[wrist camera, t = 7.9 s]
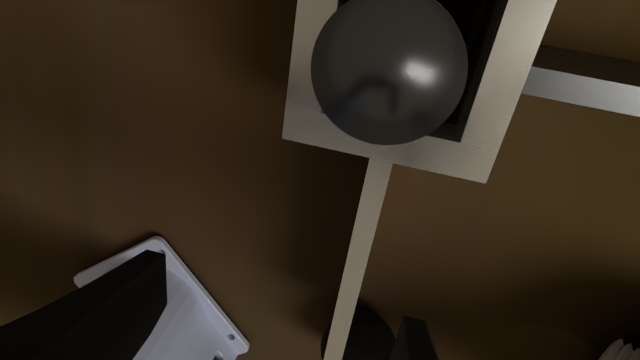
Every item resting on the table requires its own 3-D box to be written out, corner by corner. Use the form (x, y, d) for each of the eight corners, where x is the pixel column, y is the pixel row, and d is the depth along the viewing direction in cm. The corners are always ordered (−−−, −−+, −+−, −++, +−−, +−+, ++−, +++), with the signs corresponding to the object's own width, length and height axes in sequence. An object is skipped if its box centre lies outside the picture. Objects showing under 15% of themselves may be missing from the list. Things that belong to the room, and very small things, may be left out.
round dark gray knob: (463, 45, 17) (493, 105, 10) (378, 89, 19) (355, 166, 12) (422, -47, 16) (425, -48, 9) (335, 8, 17) (282, 42, 11)
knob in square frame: (612, 363, 23) (659, 462, 18) (286, 280, 25) (257, 351, 20) (873, 3, 14) (1083, 25, 10) (338, -85, 16) (308, -100, 11)
